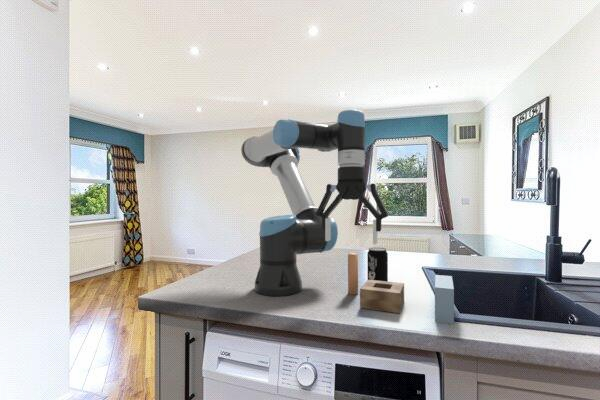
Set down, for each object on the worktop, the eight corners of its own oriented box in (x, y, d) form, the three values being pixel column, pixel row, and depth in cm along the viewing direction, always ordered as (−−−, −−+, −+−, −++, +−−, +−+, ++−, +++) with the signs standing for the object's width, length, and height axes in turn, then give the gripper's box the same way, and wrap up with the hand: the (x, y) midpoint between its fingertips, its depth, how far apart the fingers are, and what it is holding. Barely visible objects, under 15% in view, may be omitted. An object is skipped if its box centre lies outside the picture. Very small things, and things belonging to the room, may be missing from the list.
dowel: (346, 294, 93) (346, 254, 93) (349, 291, 96) (349, 252, 96) (356, 295, 92) (356, 255, 92) (359, 292, 95) (358, 253, 95)
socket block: (360, 307, 81) (360, 288, 81) (368, 296, 90) (368, 279, 90) (399, 313, 77) (399, 293, 77) (404, 301, 86) (404, 283, 86)
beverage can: (388, 287, 100) (388, 250, 100) (367, 286, 101) (367, 250, 101) (387, 282, 107) (386, 247, 106) (367, 281, 108) (367, 246, 108)
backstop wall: (434, 321, 72) (434, 287, 72) (435, 304, 84) (435, 274, 84) (454, 324, 71) (453, 289, 71) (452, 306, 83) (451, 276, 83)
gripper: (305, 167, 89) (305, 241, 89) (395, 163, 79) (395, 246, 79) (314, 169, 96) (314, 237, 96) (398, 166, 86) (398, 242, 86)
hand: (350, 242), depth 88 cm, fingers open, 13 cm apart
